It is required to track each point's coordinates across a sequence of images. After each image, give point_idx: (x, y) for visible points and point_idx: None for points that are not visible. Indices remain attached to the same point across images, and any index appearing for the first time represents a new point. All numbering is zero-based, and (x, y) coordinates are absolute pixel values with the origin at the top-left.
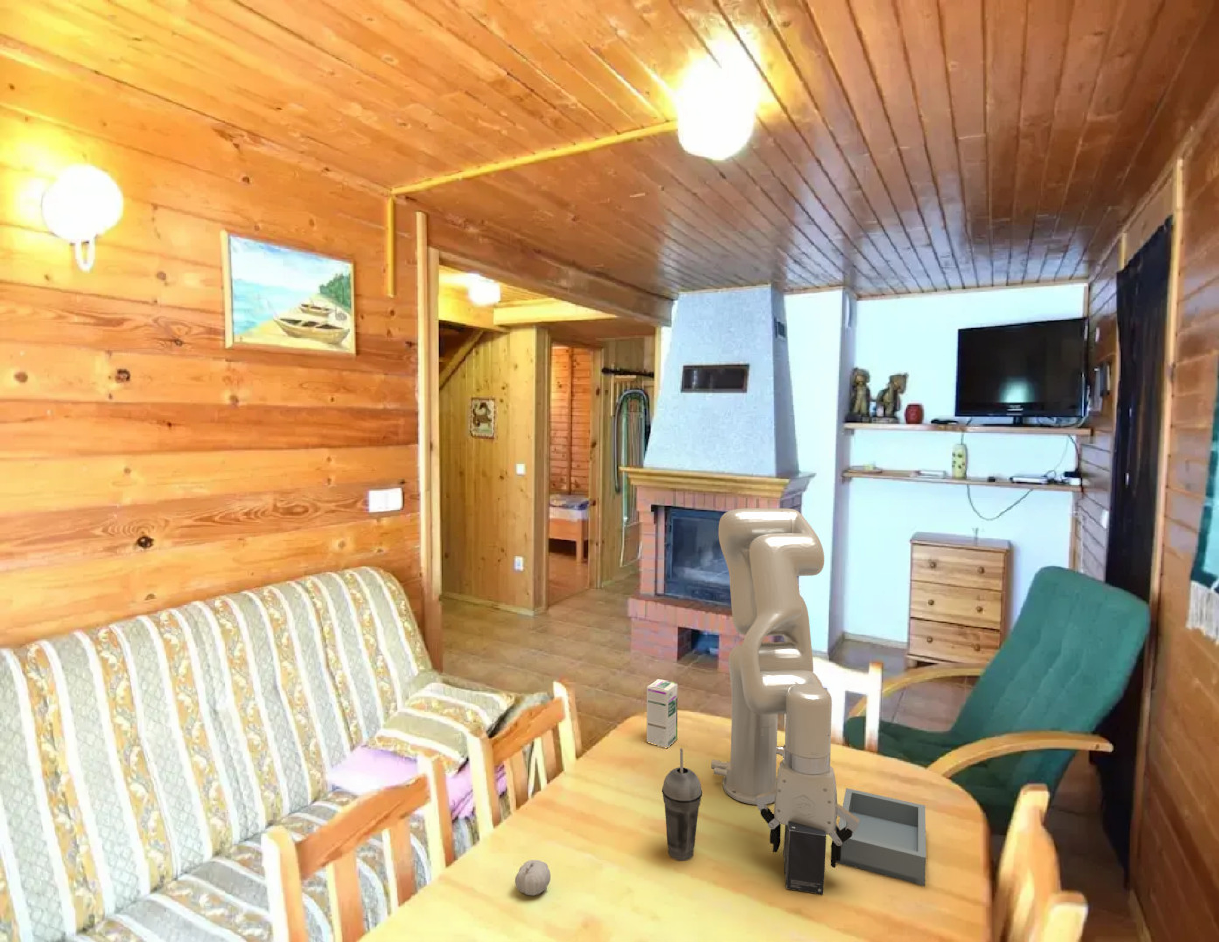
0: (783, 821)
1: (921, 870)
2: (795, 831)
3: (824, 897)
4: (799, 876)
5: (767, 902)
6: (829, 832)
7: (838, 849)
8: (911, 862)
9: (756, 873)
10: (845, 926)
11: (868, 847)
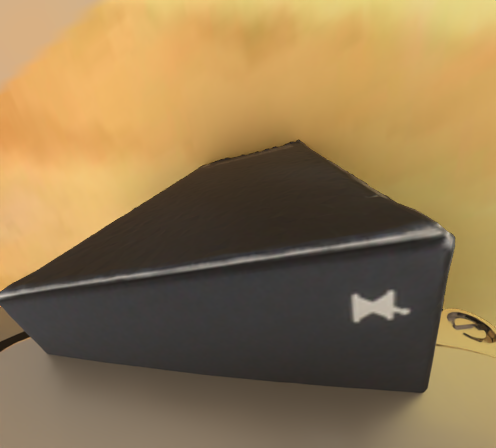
0: (472, 372)
1: (4, 310)
2: (339, 238)
3: (194, 157)
4: (264, 155)
5: (364, 32)
6: (14, 344)
7: None
8: (10, 322)
9: (398, 177)
10: (104, 42)
11: None
